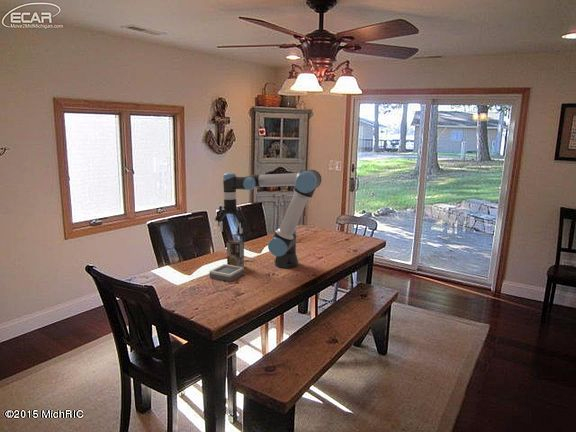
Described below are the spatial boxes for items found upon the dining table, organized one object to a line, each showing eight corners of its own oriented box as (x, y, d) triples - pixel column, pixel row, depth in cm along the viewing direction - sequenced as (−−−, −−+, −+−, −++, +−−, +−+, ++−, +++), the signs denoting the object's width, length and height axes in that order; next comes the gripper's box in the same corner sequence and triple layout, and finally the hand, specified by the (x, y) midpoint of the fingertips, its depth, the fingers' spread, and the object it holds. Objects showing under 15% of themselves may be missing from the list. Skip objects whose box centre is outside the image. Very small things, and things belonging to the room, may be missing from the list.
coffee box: (244, 266, 260) (244, 241, 257) (240, 269, 254) (239, 243, 251) (231, 264, 263) (231, 239, 259) (226, 267, 257) (226, 242, 254)
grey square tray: (244, 273, 247) (244, 267, 246) (230, 281, 233) (229, 275, 233) (224, 269, 252) (224, 263, 252) (209, 277, 239) (209, 271, 238)
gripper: (251, 198, 252) (252, 232, 256) (214, 196, 260) (215, 229, 264) (246, 200, 245) (247, 235, 249) (208, 198, 253) (210, 232, 257)
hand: (231, 232), depth 257 cm, fingers open, 13 cm apart
